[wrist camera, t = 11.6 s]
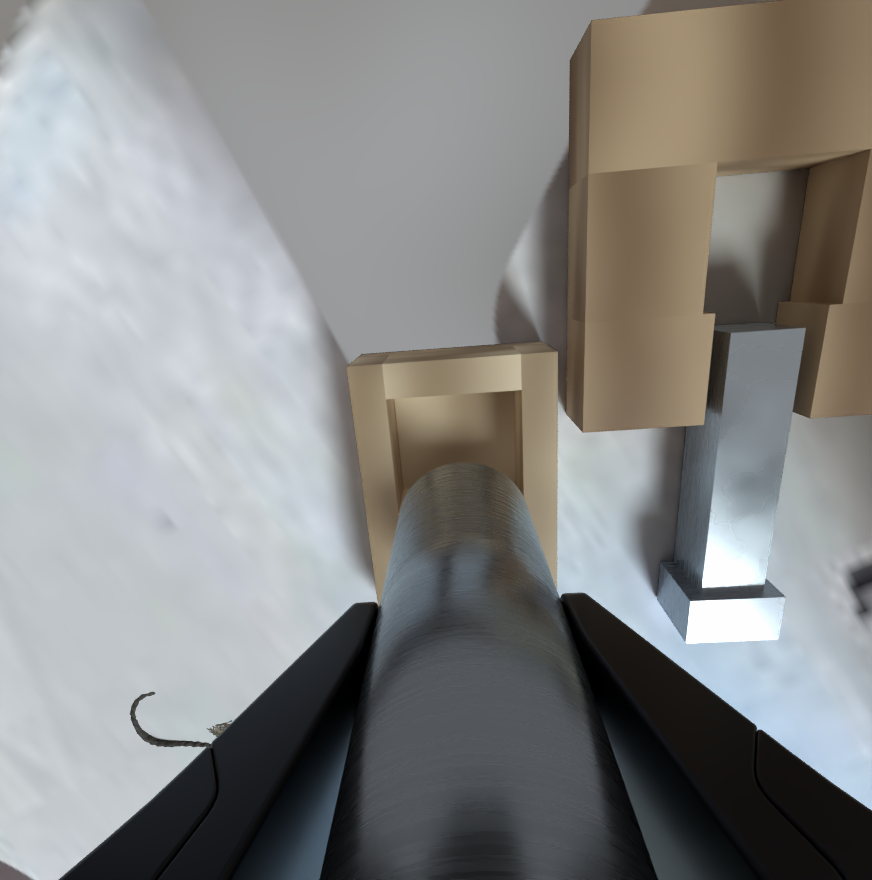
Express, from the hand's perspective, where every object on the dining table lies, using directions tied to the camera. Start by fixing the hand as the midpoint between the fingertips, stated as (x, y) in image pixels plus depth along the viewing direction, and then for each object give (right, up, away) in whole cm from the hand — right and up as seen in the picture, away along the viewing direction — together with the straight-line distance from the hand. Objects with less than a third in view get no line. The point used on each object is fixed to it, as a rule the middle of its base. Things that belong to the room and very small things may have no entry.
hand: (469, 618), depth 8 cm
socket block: (+10, +10, +9) cm, 17 cm away
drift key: (+11, +2, +11) cm, 16 cm away
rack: (0, +1, +12) cm, 12 cm away
